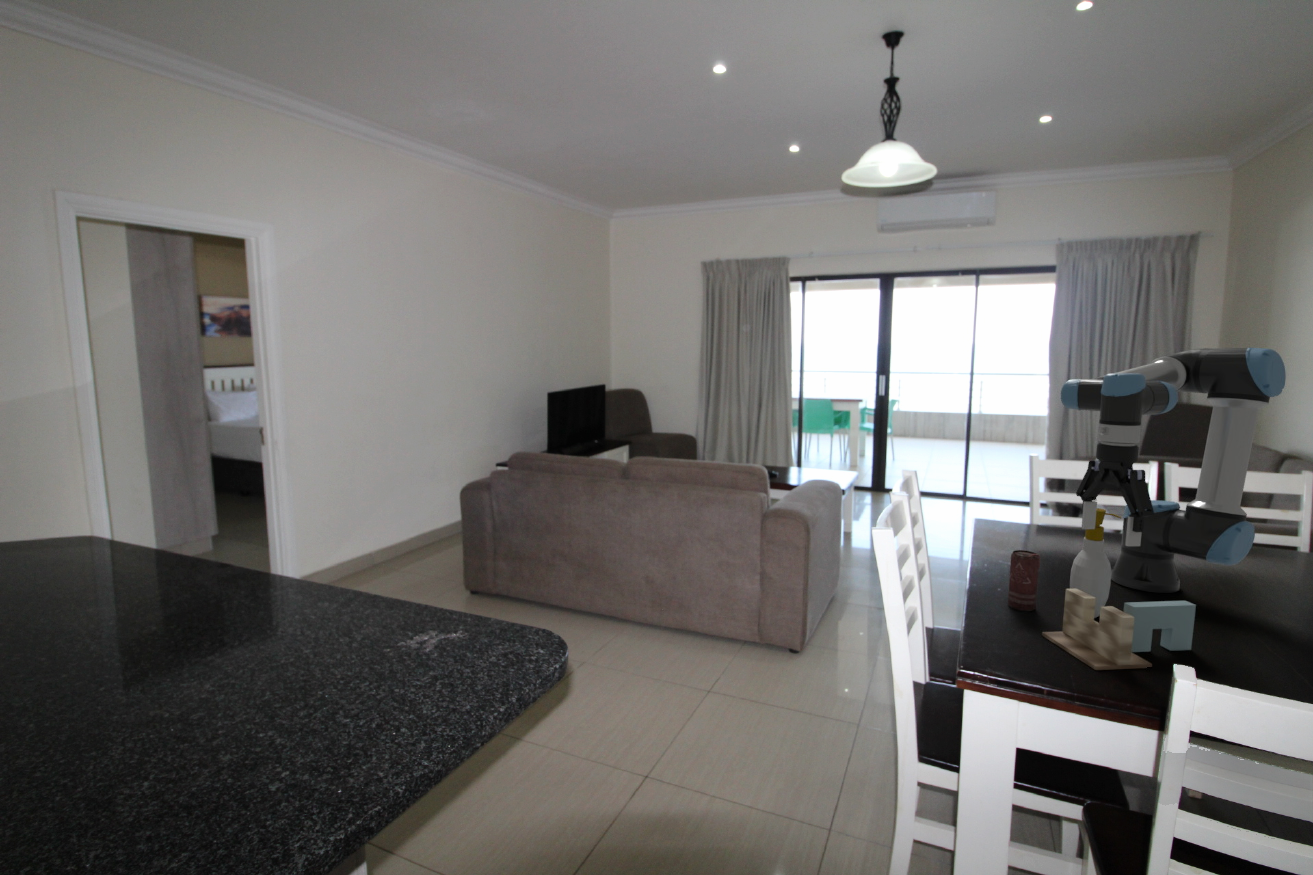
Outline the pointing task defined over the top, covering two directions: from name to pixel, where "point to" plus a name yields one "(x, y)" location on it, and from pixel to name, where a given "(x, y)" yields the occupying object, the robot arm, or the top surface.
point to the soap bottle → (1093, 565)
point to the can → (1023, 580)
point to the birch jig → (1096, 634)
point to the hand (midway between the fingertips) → (1109, 537)
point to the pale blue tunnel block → (1162, 624)
